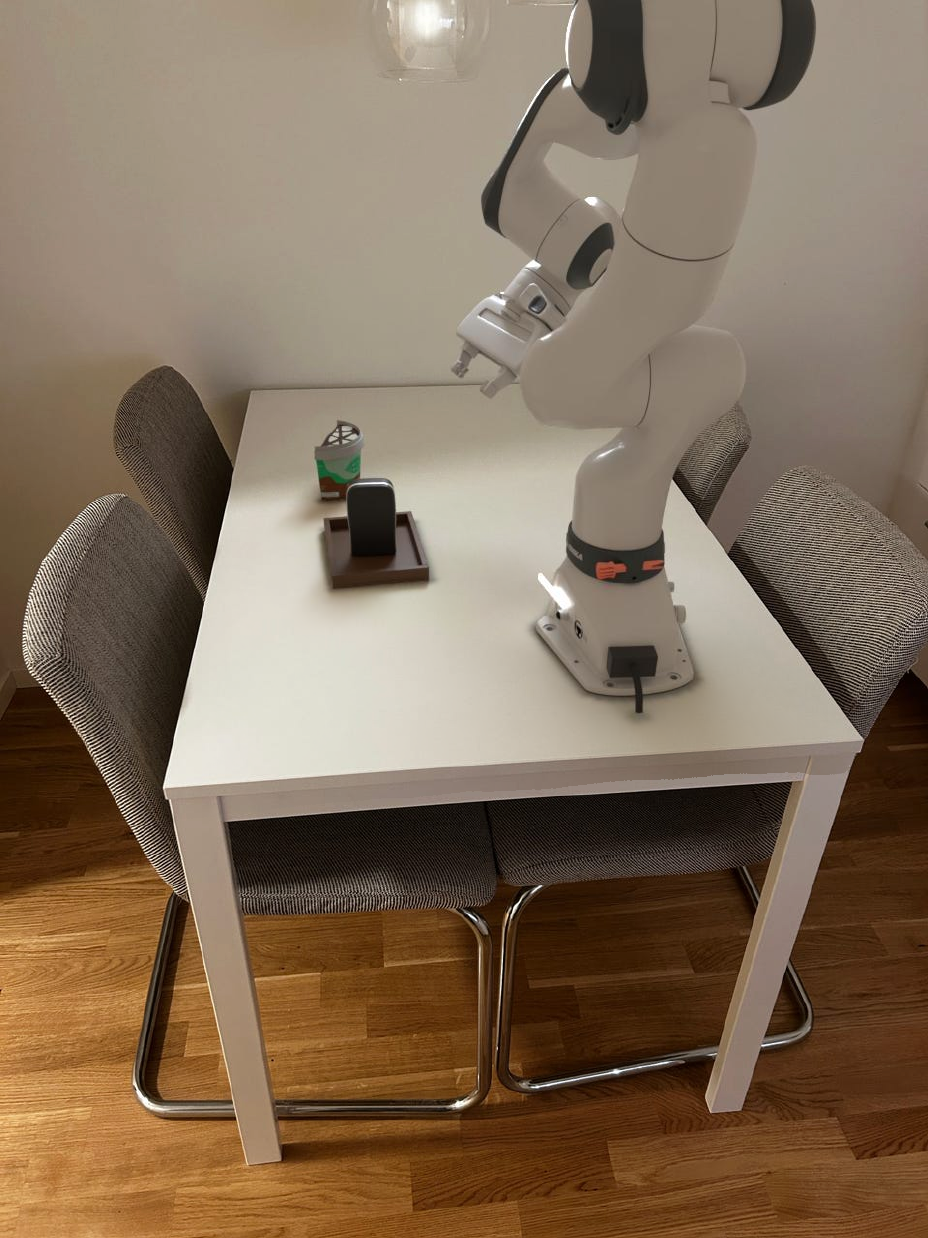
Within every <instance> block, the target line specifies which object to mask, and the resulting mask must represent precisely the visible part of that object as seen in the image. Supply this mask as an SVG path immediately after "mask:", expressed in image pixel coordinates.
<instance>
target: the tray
mask: <svg viewBox="0 0 928 1238" xmlns="http://www.w3.org/2000/svg"><path fill="white" fill-rule="evenodd" d="M323 530H324V536H325V544H326V550H327V558H328V563H329V571H330V572H329V573H330V577H331V585H332V589H333V590H335V589H337V590H338V589H347V588H357V587H358V588H359V587H367V586H369V587H370V586H378V585H387V584H388V585H390V584H399V583H408V582H409V583H412V582H423V581H429V580H430V567H429V563H428V560H427V558H426V553H425V551H424V547H423V543H422V541H421V538H420V534H419V532H418V528H417V525H416V522H415V520H414V516H413V513H412V511H411V510H410V511H409V510H407V511H396V549H397V551H396V553H395V554H392V555H379V556H352V554H351V545H350V533H349V526H348V517H347V515H345V516H344V515H343V516H335V517H333V516H332V517H331V516H330V517H323Z"/></svg>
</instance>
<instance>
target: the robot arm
mask: <svg viewBox="0 0 928 1238" xmlns="http://www.w3.org/2000/svg"><path fill="white" fill-rule="evenodd" d="M569 17H570V18H569V22H568V26H567V31H566V37H565V38H566V39H565V55H566V63H567V67H562V68H560V69H559V70H557V71H556V72H555V73H554V74H553V75H552V76H550V77H549V78H548V79H547V80H546V82H545V83H544V84H543V85H542V86H541V87H540V89H539V90H538V92H536V95H535V96H534V98H533V100H532V101H531V103H530V104H529V106H528V108H527V110H526V112H525V114H524V116H523V118H522V119H521V121H520V122H519V125H518V127H517V129H516V130H515V133H514V135H513V137H512V139H511V141H510V143H509V145H508V147H507V149H506V151H505V153H504V155H503V157H502V159H501V160H500V162H499V164H498V166H497V167H496V169H495V170H494V171H493V173H492V174H491V176H490V177H489V179H488V180H487V183H486V184H485V187H484V189H483V191H482V193H481V195H480V206H481V212H482V217H483V221H484V224H485V225H486V227H488V228H489V229H491V230H492V231H494V232H496V233H497V234H499V235H500V236H501V237H502V238H504V239H506V240H508V241H509V242H511V243H512V244H513V245H514V246H516V247H517V248H518V249H519V250H520V251H522V252H523V253H524V254H525V255H527V257H529V258H530V259H531V261H529V262H528V263H527V264H526V265H524V266H523V268H522V269H521V270H520V271H519V272H518V274H517V275H516V276H515V277H514V278H513V280H512V281H511V282H510V283H509V284H508V286H507V287H506V288H505V290H504V291H499V292H498V293H496V294H492V295H490V296H487V297H485V298H484V299H482V300H481V301H480V302H479V303H478V304H477V305H476V306H474V307H473V309H472V310H471V311H470V312H469V313H468V314H466V316H465V317H464V318H463V320H462V321H461V322H460V323H459V325H458V326H457V328H456V332H455V333H456V336H457V338H459V339H460V340H461V342H463V344H462V345H461V347H460V348H459V352H458V355H457V358H456V360H455V361H454V363H453V364H452V365H451V366H450V372H452V373H453V374H454V375H455V376H456V377H458V378H459V379H462V378H464V377H465V375H466V374H468V373H469V371H470V369H469V368H468V367H469V365H470V363H471V361H472V359H476V357H477V356H478V355H479V354H480V355H481V356H482V357H484V358H486V359H487V360H489V361H491V362H492V363H494V364H495V365H497V366H498V367H500V368H499V369H498V371H497V372H498V374H496V375H495V376H494V377H492V378H491V379H490V380H488V379H486V380H485V381H484V382H483V384H482V385H481V386H479V392H480V393H482V395H484V396H485V397H486V398H487V399H490V400H493V399H494V397H495V396H496V395H497V394H498V392H499V391H501V390H503V389H505V388H507V387H508V386H509V385H512V384H513V383H514V382H515V380H516V379H519V382H518V383H519V384H518V385H519V391H520V396H521V399H522V402H523V404H524V407H525V408H526V410H527V412H528V413H529V415H530V416H531V417H532V418H533V419H534V420H535V421H536V422H537V423H538V424H539V425H541V426H548V427H552V428H553V427H554V428H559V429H568V430H574V431H588V430H589V431H590V430H603V429H620V428H621V429H620V430H619V432H617V433H616V435H615V436H614V437H613V438H611V440H609V441H608V442H607V443H605V444H604V445H602V446H600V447H599V448H597V449H595V450H593V451H592V452H591V453H589V454H588V455H587V456H586V457H585V458H584V459H583V461H582V462H581V464H580V466H579V467H578V469H577V471H576V474H575V478H574V479H575V480H574V491H573V504H572V505H573V506H572V516H571V517H572V518H571V520H570V522H569V523H568V527H567V532H566V537H565V543H566V544H565V545H566V546H565V553H566V556H565V558H564V560H563V561H562V562H561V564H560V565H559V566H558V567H557V568H556V569H555V571H554V572H553V575H552V580H551V583H550V582H549V581H548V579H547V578H546V577H545V576H544V575H543V574H542V573H538V581H539V582H540V583H541V584H542V585H543V587H544V588H545V590H547V591H548V593H549V594H550V596H549V603H548V610H547V614H545V615H544V616H542V617H541V618H539V619H538V620H537V622H536V626H535V630H536V632H537V633H538V635H539V636H540V637H541V638H542V639H543V641H544V642H545V643H546V644H547V645H548V646H549V648H550V649H551V651H552V652H553V653H554V654H555V655H556V656H557V658H558V659H559V660H560V662H562V663H563V665H564V666H565V667H566V668H567V670H568V671H569V672H570V673H571V674H572V676H573V677H574V678H575V679H576V680H577V682H578V683H579V684H580V685H581V687H582V688H583V689H584V690H586V691H587V692H589V693H593V694H599V695H603V696H604V695H605V696H616V697H624V696H626V697H627V696H629V697H630V696H635V697H634V698H635V701H634V702H635V703H634V704H635V705H634V706H635V707H634V709H635V710H634V712H635V714H643V713H644V695H649V694H658V693H662V692H667V691H671V690H675V689H677V688H680V687H683V686H685V685H687V684H688V683H690V682H691V681H693V680H694V673H695V671H694V668H693V664H692V662H691V659H690V656H689V653H688V650H687V649H688V648H687V646H686V643H685V640H684V638H683V637H684V636H683V634H682V631H681V628H680V625H679V624H681V625H682V624H685V622H686V618H687V611H686V606H685V605H683V604H674V602H673V597H672V593H674V592H675V582H674V581H669V579H668V576H667V572H666V568H665V564H666V562H665V554H666V542H665V533H664V529H663V523H664V518H665V517H664V516H665V511H666V506H667V501H668V496H669V491H670V487H671V484H672V481H673V477H674V475H675V473H676V470H677V468H678V466H679V464H680V462H681V461H682V459H683V457H684V456H685V454H686V453H687V452H688V450H689V449H690V447H691V446H692V445H693V444H694V442H695V441H696V440H697V439H698V437H699V436H700V435H701V434H702V433H703V432H705V430H706V429H707V428H708V427H709V426H711V425H712V424H713V423H714V422H716V421H717V420H718V419H719V418H721V417H723V416H724V415H726V414H727V413H729V412H730V411H731V410H732V409H733V408H734V406H735V405H736V404H737V402H738V401H739V399H740V398H741V396H742V393H743V391H744V387H745V383H746V380H747V363H746V362H747V361H746V357H745V353H744V351H743V349H742V346H741V344H740V343H739V342H738V340H737V339H736V337H735V336H734V334H732V333H731V332H730V331H728V330H726V329H721V328H716V327H711V326H705V325H698V324H695V323H697V322H698V321H700V319H701V318H702V317H703V316H704V315H705V314H706V313H707V311H708V310H709V309H710V308H711V306H712V304H713V302H714V301H715V298H716V294H717V292H718V290H719V287H720V284H721V281H722V278H723V276H724V273H725V270H726V267H727V264H728V262H729V260H730V256H731V254H732V251H733V248H734V246H735V243H736V240H737V237H738V234H739V231H740V228H741V225H742V223H743V220H744V219H743V218H744V215H745V212H746V209H747V205H748V200H749V196H750V191H751V186H752V181H753V176H754V171H755V164H756V157H757V150H758V143H757V142H758V141H757V135H756V132H755V129H754V126H753V124H752V123H751V121H750V119H749V118H748V117H747V116H746V115H745V114H744V113H743V112H742V111H741V110H740V109H743V110H745V111H754V110H759V109H763V108H768V107H770V106H773V105H776V104H778V103H781V102H783V101H785V100H786V99H788V98H789V97H790V96H791V95H793V93H794V92H795V91H796V89H797V88H798V86H799V84H800V83H801V81H802V80H803V78H804V76H805V74H806V73H807V70H808V68H809V65H810V63H811V59H812V56H813V53H814V48H815V42H816V36H817V35H816V34H817V20H816V19H817V18H816V11H815V7H814V4H813V2H812V0H574V3H573V5H572V9H571V13H570V16H569ZM554 143H555V144H559V145H562V146H566V147H567V148H569V149H572V150H574V151H577V152H579V153H581V154H582V155H585V156H587V157H590V158H591V159H592V158H593V159H596V160H603V161H616V160H622V159H627V158H630V157H634V156H636V155H637V159H636V166H635V169H634V171H633V176H632V179H631V183H630V186H629V189H628V191H627V195H626V199H625V203H624V205H623V206H624V207H623V210H622V213H621V216H620V214H619V213H618V212H617V211H616V209H615V208H614V207H613V206H612V205H610V204H609V202H607V201H605V200H604V199H601V198H599V197H596V196H589V197H587V198H583V197H581V195H580V194H578V193H576V192H575V191H574V190H573V189H572V188H570V187H569V186H568V185H567V184H565V183H564V181H562V180H561V179H559V178H558V177H557V176H556V175H555V174H554V173H553V172H552V171H551V170H550V169H549V168H548V166H547V165H546V163H545V161H544V160H545V158H546V157H547V155H548V153H549V151H550V149H551V148H552V146H553V145H554ZM602 276H603V277H602ZM600 278H601V280H600ZM599 280H600V282H599V284H598V286H597V287H596V288H595V290H594V291H593V293H592V294H591V296H590V297H588V299H587V300H586V301H585V302H584V304H583V305H582V306H581V307H580V308H579V309H578V310H577V311H576V312H575V313H574V314H573V315H572V316H571V317H569V318H567V315H569V313H570V311H572V309H573V307H574V305H575V303H576V301H577V299H578V298H579V297H580V295H581V294H582V293H583V292H585V291H586V290H587V289H589V288H592V287H594V286H595V284H596V283H597V282H598V281H599Z"/></svg>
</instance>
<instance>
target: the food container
mask: <svg viewBox="0 0 928 1238" xmlns="http://www.w3.org/2000/svg"><path fill="white" fill-rule="evenodd" d="M365 445H366V441H365V438H364V435H363V432H362V431H361V428H360V427H359V426H358V425H357V424H355V423H353V422H351V421H347V420H342V419H336V426H335V428H334V429H333V430H332V431H331V432H330V433H329V434H327V435H326V437H325V439H324V440H323V442H322V443H321V445H320V446H318V445H314V460H315V461H316V468H317V469H316V470H317V476H318V477H317V478H318V485H319V492H320V493H319V494H320V500H321V501H320V502H339V501H344V500H346V495H347V488H348V485H349V483H350V482H351V481H352V480H354V479H361V468H362V467H361V464H362V462H361V460H362V459H361V458H362V450H363V449H364V447H365Z"/></svg>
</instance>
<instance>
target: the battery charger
mask: <svg viewBox="0 0 928 1238" xmlns="http://www.w3.org/2000/svg"><path fill="white" fill-rule="evenodd" d="M394 487H395V486H394V484H393V482H392V481H391V480H390V479H389V478H386V477H384V478H383V477H366V478H365V477H364V478H360V479H354V480H352V481H351V482H350V483H349V485H348V488H347V495H346V499H345V500H346V516H347V517H348V526H349V533H350V545H351V554H352V556H379V555H392V554H395V553H396V551H397V549H396V512H397V503H396V501H397V500H396V492H395V488H394Z"/></svg>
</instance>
